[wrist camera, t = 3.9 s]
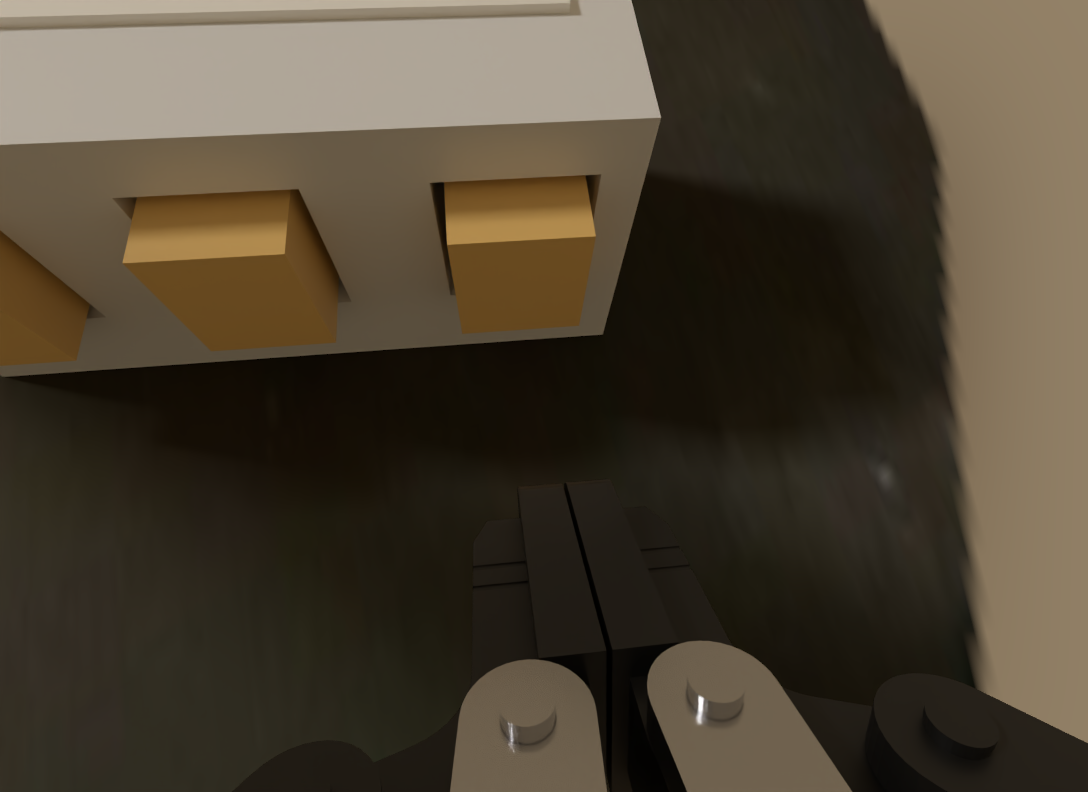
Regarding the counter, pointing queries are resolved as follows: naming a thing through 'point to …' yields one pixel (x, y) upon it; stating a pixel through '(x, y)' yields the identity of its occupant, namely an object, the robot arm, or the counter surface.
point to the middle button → (237, 267)
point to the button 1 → (36, 311)
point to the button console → (311, 145)
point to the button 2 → (519, 251)
